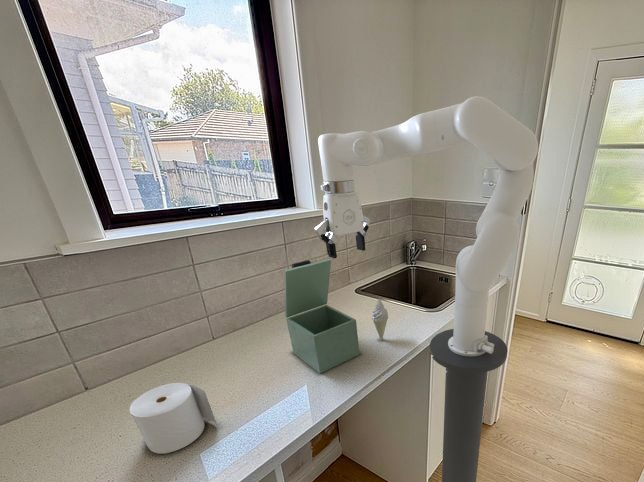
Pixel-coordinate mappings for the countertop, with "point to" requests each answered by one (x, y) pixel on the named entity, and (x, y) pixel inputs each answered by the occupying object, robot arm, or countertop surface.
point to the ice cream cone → (380, 318)
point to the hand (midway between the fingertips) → (347, 253)
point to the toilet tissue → (171, 416)
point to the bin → (323, 337)
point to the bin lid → (306, 286)
